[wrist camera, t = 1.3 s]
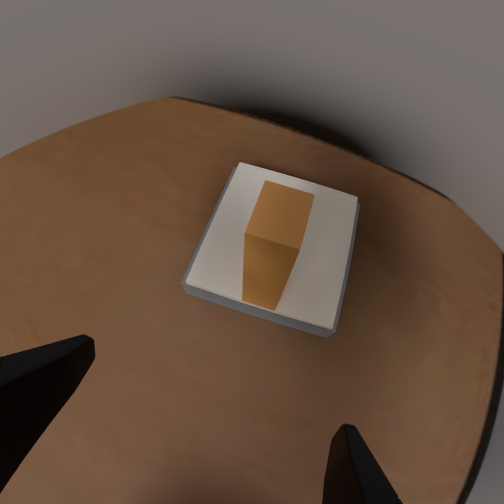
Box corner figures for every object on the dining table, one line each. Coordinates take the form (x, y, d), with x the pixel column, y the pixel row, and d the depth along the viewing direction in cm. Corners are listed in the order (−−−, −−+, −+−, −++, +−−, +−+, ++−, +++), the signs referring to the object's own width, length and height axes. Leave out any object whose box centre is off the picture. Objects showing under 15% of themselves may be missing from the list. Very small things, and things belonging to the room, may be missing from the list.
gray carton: (326, 338, 24) (335, 332, 21) (186, 293, 25) (181, 283, 23) (352, 217, 29) (360, 204, 27) (234, 182, 30) (234, 166, 28)
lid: (330, 329, 21) (393, 279, 12) (186, 283, 22) (153, 206, 13) (356, 200, 26) (398, 116, 17) (239, 165, 27) (241, 72, 18)
